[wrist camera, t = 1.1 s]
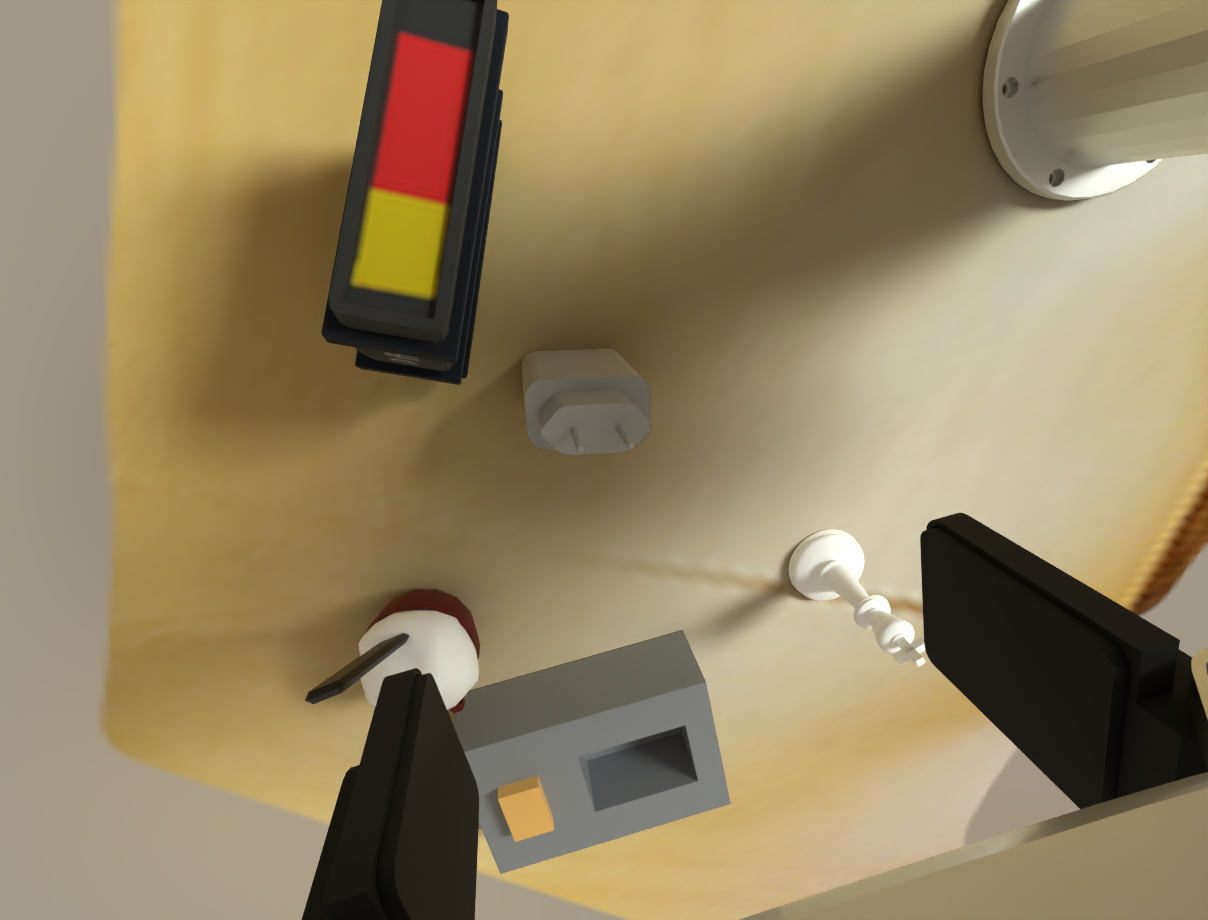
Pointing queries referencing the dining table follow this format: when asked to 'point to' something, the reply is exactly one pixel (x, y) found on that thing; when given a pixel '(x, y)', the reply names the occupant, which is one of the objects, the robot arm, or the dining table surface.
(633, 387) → the power adapter
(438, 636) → the cocoa
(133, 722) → the dining table surface
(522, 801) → the socket block
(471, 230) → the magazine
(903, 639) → the chess piece
